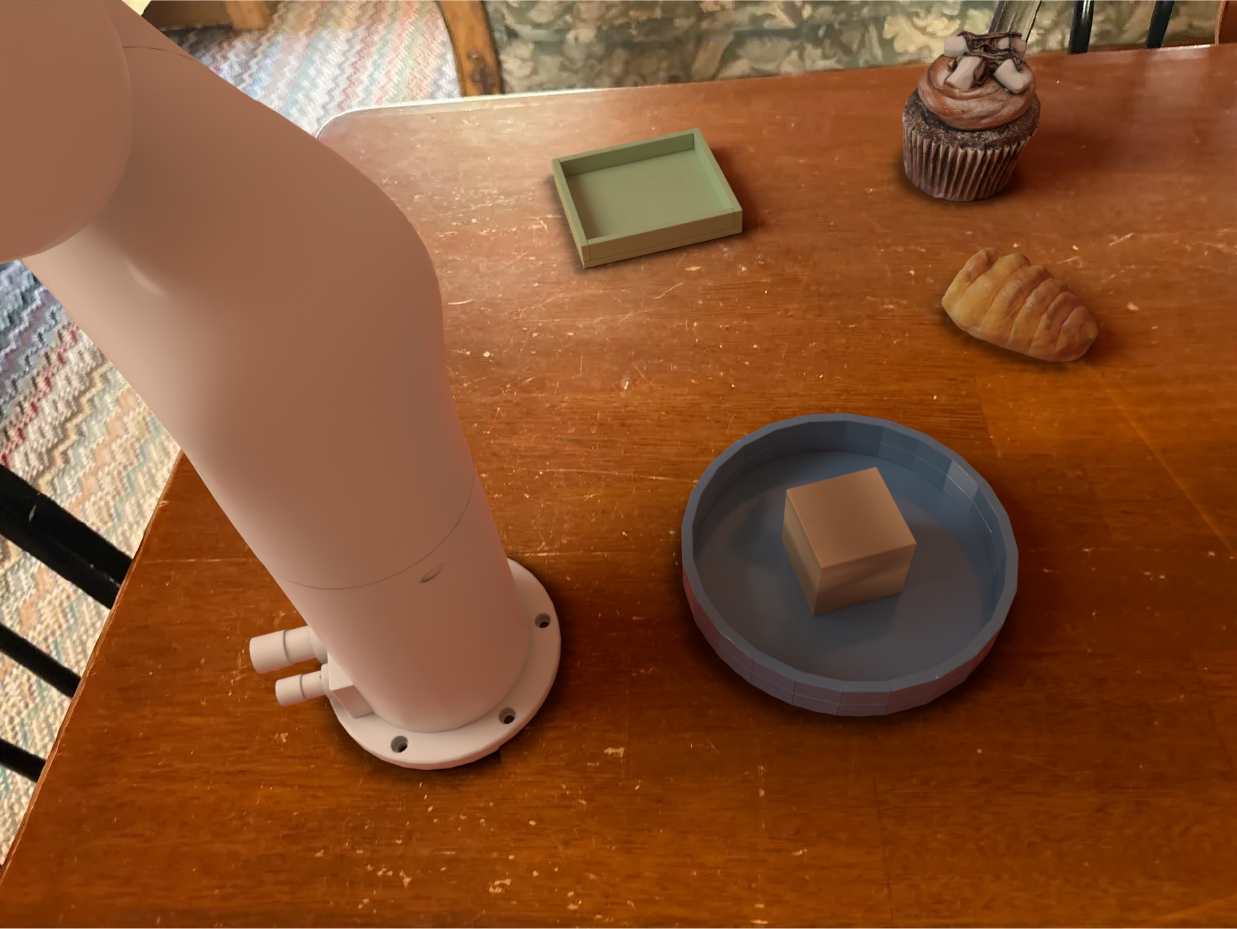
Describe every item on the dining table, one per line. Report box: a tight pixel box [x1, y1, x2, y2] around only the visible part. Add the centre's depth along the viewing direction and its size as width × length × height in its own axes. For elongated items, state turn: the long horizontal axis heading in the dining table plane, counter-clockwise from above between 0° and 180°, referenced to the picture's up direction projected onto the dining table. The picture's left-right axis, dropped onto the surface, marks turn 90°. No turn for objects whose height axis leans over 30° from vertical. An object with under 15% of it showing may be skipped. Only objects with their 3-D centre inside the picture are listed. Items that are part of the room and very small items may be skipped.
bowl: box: [680, 412, 1020, 717], centre depth 51 cm, size 17×17×4 cm
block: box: [782, 467, 916, 616], centre depth 50 cm, size 5×5×5 cm
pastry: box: [941, 246, 1099, 363], centre depth 61 cm, size 9×7×4 cm
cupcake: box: [901, 30, 1042, 202], centre depth 69 cm, size 10×10×10 cm
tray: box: [550, 126, 744, 269], centre depth 72 cm, size 12×11×2 cm
